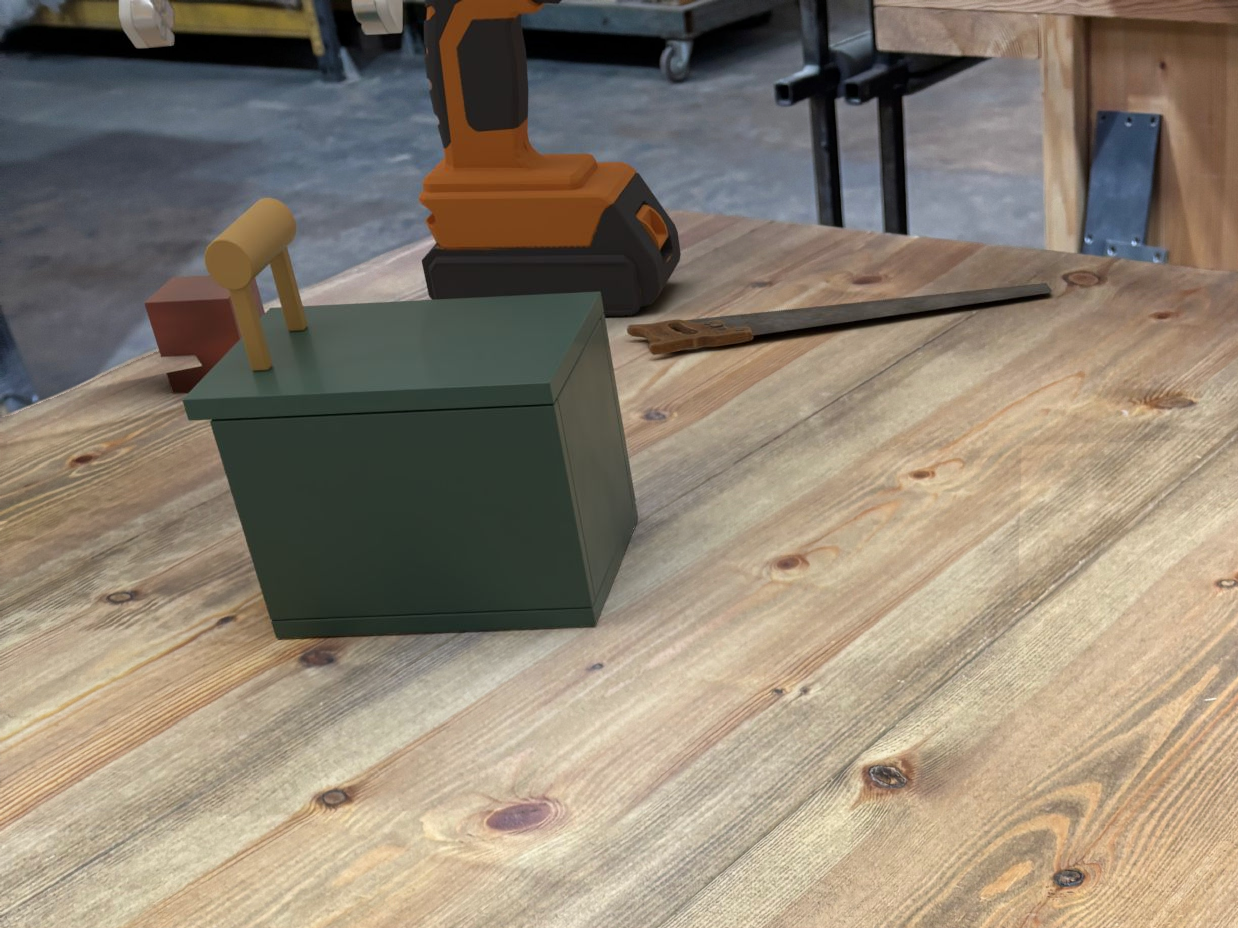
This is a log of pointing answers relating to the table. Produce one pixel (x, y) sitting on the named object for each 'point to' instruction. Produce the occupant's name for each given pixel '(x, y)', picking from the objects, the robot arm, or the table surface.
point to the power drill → (525, 181)
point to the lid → (378, 342)
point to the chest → (438, 511)
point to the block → (195, 324)
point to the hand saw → (806, 318)
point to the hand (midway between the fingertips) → (261, 31)
